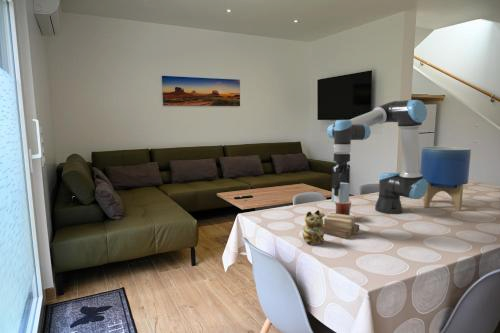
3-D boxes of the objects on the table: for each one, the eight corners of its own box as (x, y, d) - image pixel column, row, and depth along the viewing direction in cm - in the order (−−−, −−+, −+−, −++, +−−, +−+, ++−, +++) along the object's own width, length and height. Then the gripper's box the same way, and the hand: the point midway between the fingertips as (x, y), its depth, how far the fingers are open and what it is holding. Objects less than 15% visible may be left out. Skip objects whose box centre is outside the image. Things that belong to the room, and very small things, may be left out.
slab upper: (330, 220, 167) (331, 212, 167) (355, 223, 161) (355, 216, 161) (324, 227, 157) (324, 218, 156) (349, 231, 151) (349, 222, 150)
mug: (345, 223, 173) (346, 204, 172) (331, 219, 179) (331, 201, 178) (356, 218, 181) (357, 200, 180) (342, 215, 188) (343, 197, 186)
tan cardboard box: (332, 226, 170) (333, 219, 169) (358, 232, 160) (359, 224, 160) (319, 233, 159) (319, 226, 159) (346, 240, 150) (346, 232, 149)
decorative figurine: (308, 246, 141) (309, 213, 139) (298, 240, 149) (298, 208, 147) (326, 243, 145) (327, 210, 143) (315, 237, 153) (316, 206, 151)
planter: (439, 199, 224) (443, 145, 219) (476, 209, 199) (481, 148, 194) (408, 202, 216) (412, 147, 211) (443, 213, 191) (448, 150, 186)
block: (337, 199, 162) (338, 181, 160) (348, 201, 158) (349, 183, 156) (331, 201, 157) (332, 183, 156) (343, 204, 153) (343, 185, 152)
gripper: (343, 151, 164) (342, 196, 167) (324, 154, 150) (323, 203, 153) (358, 152, 159) (356, 198, 162) (339, 155, 145) (337, 206, 148)
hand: (340, 200), depth 157 cm, fingers closed on block, 6 cm apart
